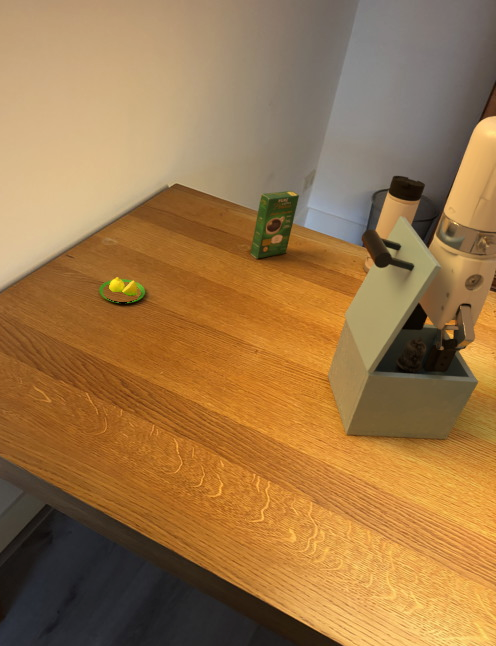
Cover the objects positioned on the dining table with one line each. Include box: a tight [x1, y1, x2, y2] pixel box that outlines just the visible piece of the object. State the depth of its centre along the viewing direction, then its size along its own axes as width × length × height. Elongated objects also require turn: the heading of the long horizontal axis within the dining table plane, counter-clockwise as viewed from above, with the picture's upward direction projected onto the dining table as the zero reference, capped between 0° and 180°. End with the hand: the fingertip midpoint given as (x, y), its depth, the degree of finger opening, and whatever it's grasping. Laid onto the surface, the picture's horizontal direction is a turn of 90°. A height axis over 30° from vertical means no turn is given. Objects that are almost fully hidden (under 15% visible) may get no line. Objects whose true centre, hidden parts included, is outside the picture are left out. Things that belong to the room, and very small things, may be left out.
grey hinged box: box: [327, 319, 479, 440], centre depth 78 cm, size 15×13×11 cm
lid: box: [344, 216, 441, 373], centre depth 68 cm, size 16×13×6 cm
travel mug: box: [363, 175, 426, 274], centre depth 109 cm, size 6×7×20 cm
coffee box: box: [249, 190, 300, 260], centre depth 111 cm, size 8×3×13 cm, turn 122°
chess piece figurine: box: [388, 337, 426, 374], centre depth 77 cm, size 6×6×12 cm
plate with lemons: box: [99, 276, 146, 304], centre depth 96 cm, size 8×8×3 cm
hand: (422, 348), depth 75 cm, fingers open, 8 cm apart
